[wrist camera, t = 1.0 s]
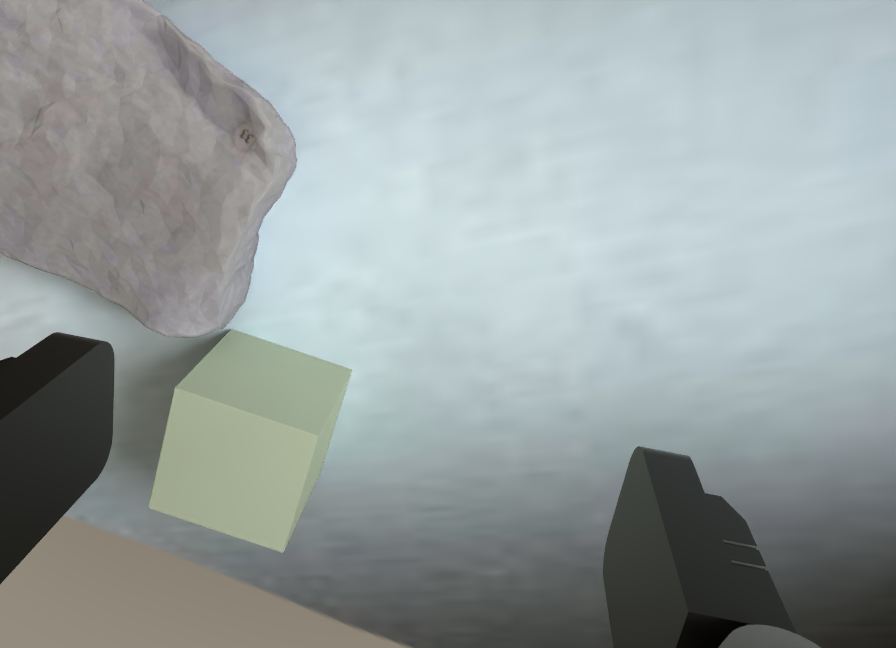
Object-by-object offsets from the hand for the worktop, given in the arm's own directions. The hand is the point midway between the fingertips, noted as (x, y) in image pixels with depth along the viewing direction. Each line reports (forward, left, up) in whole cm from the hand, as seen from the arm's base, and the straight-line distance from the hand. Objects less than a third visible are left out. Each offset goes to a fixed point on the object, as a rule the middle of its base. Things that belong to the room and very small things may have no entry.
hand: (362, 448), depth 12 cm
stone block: (+12, 0, -19) cm, 22 cm away
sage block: (+6, +10, -19) cm, 22 cm away
